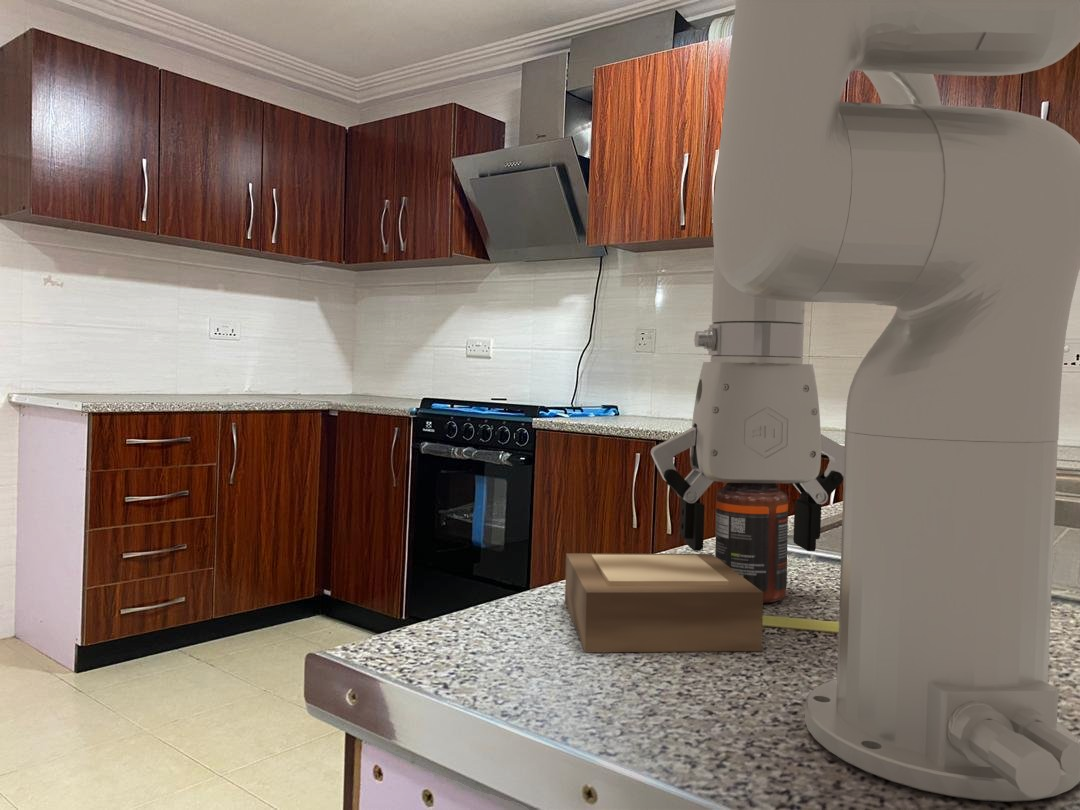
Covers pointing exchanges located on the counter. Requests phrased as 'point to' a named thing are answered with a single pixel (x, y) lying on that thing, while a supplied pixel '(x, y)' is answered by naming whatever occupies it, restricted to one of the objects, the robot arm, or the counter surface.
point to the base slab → (661, 603)
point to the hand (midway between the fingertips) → (749, 547)
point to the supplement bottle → (754, 535)
